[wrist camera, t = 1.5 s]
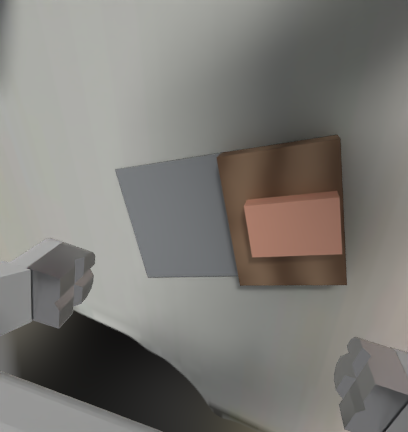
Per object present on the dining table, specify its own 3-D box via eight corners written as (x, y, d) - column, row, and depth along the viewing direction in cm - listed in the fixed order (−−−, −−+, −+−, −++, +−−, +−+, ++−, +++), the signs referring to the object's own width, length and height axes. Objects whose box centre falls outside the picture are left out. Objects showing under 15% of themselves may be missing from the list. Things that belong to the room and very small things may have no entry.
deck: (337, 134, 30) (340, 138, 28) (343, 272, 36) (346, 284, 33) (221, 152, 34) (216, 157, 32) (243, 274, 39) (240, 285, 37)
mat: (221, 152, 34) (220, 153, 34) (243, 274, 39) (242, 275, 39) (116, 169, 39) (115, 169, 38) (148, 275, 44) (147, 277, 44)
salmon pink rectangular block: (337, 190, 30) (339, 197, 28) (339, 244, 32) (342, 254, 30) (246, 199, 33) (243, 206, 31) (254, 248, 35) (252, 257, 33)
